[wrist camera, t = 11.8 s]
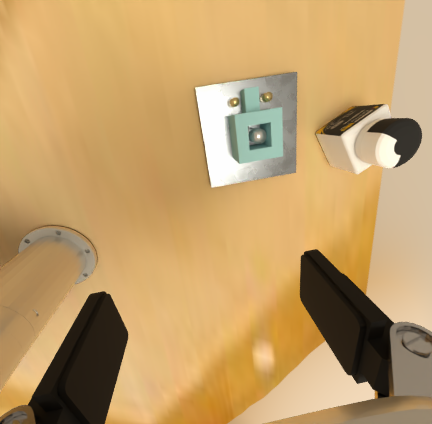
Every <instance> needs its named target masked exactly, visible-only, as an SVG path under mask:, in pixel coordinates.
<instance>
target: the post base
mask: <svg viewBox="0 0 432 424" xmlns="http://www.w3.org/2000/svg"><path fill="white" fill-rule="evenodd" d="M258 86H259V101H260V110H266V109H272V108H279V107H282V124H283V156H282V157H276V158H271V159H265V160H259V161H254V162H248V163H242V164H239V163H238V162H237V161H235V160H234V159H233V155H232V147H231V138H230V129H229V121H228V116H229V115H235V114H241V113H242V106H241V95H240V91H241V90H243V89H245V88H251V87H258ZM195 92H196V98H197V104H198V110H199V117H200V123H201V129H202V135H203V141H204V147H205V153H206V159H207V165H208V172H209V178H210V184H211V187H218V186H223V185H229V184H235V183H240V182H246V181H251V180H257V179H263V178H268V177H274V176H280V175H285V174H291V173H296V125H297V72H293V73H286V74H280V75H273V76H267V77H260V78H254V79H247V80H241V81H234V82H228V83H221V84H215V85H208V86H202V87H195ZM248 137H249V145H253V144H261V143H263V142H264V141H265V140H266V137H267V135H266V132H265V130H263V129H260V124H257V125H252V126H248Z"/></svg>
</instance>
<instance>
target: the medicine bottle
mask: <svg viewBox="0 0 432 424" xmlns="http://www.w3.org/2000/svg"><path fill="white" fill-rule="evenodd" d="M316 136H317V138H318V140H319V143H320V145H321V147H322V149H323V151H324V154H325V156H326V158H327V160H328V162H329V165H330V166H333V167H336V168H339V169H342V170H345V171H349V172H352V173H355V174H359V173H361V172H362V171H364V170H365V169H367V168H368V167H370V166H371V165H376V166H381V167H385V168H395V167H398V166H400V165H402V164H404V163H406V162H407V161H408V160H410V159H411V158H412V157H413V155H414V154H415V153H416V151H417V150H418V148H419V146H420V143H421V139H422V131H421V128H420V126H419V124H418V123H417V122H416V121H415V120H413V119H409V118H391V114H390V110H389V107H388V105H387V104H380V105H368V106H355V107H351V108H349V109H348V110H346V111H345V112H344V113H342V114H341V115H339V116H338V117H337V118H335V119H334V120H332V121H331V122H330V123H328V124H327V125H325V126H324V127H323V128H321V129H320V130H318V131H317V132H316Z"/></svg>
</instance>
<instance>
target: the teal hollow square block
mask: <svg viewBox="0 0 432 424" xmlns="http://www.w3.org/2000/svg"><path fill="white" fill-rule="evenodd" d="M240 95H241V106H242V113H241V114H235V115H229V116H228V121H229V129H230V138H231V147H232V155H233V159H234V160H235V161H237V162H238V163H239V164H242V163H248V162H254V161H259V160H265V159H271V158H276V157H282V156H283V124H282V107H279V108H272V109H266V110H260V101H259V86H258V87H251V88H245V89H243V90H241V91H240ZM257 124H260V129H263V130H265V132H266V135H267V137H266V140H265V141H264V142H263V143H261V144H253V145H249V137H248V126H252V125H257Z"/></svg>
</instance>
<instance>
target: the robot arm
mask: <svg viewBox="0 0 432 424" xmlns="http://www.w3.org/2000/svg"><path fill="white" fill-rule="evenodd" d="M96 265H97V254H96V251H95V249H94V247H93V246H92V244H91V243H90V242H89V241H88V240H87V238H85V237H84V236H83V235H81V234H80V233H78V232H76V231H74V230H71V229H69V228H65V227H61V226H44V227H41V228H37V229H35V230H33V231H31V232H30V233H29V234H27V235H26V236H25V237H24V238H23V239H22V241H21V242H20V244H19V249H18V255H16V256H15V257H14V258H13V259H11V260H10V261H9V262H8V263H6V264H5V265H4V266H2V267H1V268H0V392H1V391H2V389H3V387H4V386H5V384H6V383H7V381H8V379H9V378H10V376H11V375H12V373H13V372H14V370H15V369H16V367H17V366H18V364H19V363H20V361H21V360H22V358H23V357H24V355H25V354H26V353H27V351H28V350H29V348H30V347H31V345H32V344H33V343H34V341H35V340H36V338H37V337H38V335H39V334H40V333H41V331H42V330H43V328H44V327H45V325H46V324H47V322H48V321H49V320H50V318H51V317H52V315H53V314H54V312H55V311H56V310H57V308H58V307H59V305H60V304H61V302H62V301H63V300H64V298H65V297H66V295H67V294H68V292H69V291H70V289H71V288H72V287H73V285H74V284H78V283H80V282H83V281H84V280H86V279H87V278H89V276H90V275H91V274H92V273H93V271H94V270H95V267H96ZM300 298H301V301H302V303H303V305H304V306H305V308H306V310H307V311H308V313H309V314H310V316H311V318H312V319H313V321H314V322H315V324H316V326H317V327H318V329H319V330H320V332H321V334H322V335H323V337H324V338H325V340H326V342H327V343H328V345H329V347H330V348H331V350H332V351H333V353H334V354H335V356H336V358H337V359H338V361H339V363H340V364H341V366H342V367H343V369H344V371H345V372H346V373H347V374H348V375H352V377H353V378H354V380H355V381H356V383H357V384H358V383H363V382H367V381H368V383H369V384H370V386H371V387H372V389H373V390H375V399H372V400H367V401H362V402H358V403H353V404H348V405H343V406H338V407H334V408H329V409H324V410H321V411H316V412H312V413H307V414H303V415H299V416H294V417H290V418H286V419H282V420H277V421H273V422H269V423H264V424H432V332H431V331H429V330H427V329H425V328H424V327H422V326H419V325H416V324H414V323H409V322H398V323H394V322H392V321H391V320H390V319H389V318H388V317H387V316H386V315H385V314H384V313H383V312H382V311H381V310H380V309H379V308H378V307H377V306H376V305H375V304H374V303H373V302H372V301H371V300H370V299H369V298H368V297H367V296H366V295H365V294H364V293H363V292H362V291H361V290H360V289H359V288H358V287H357V286H356V285H355V284H354V283H353V282H352V281H351V280H350V279H349V278H348V277H347V276H346V275H344V274H342V273H341V272H340V271H339V270H338V269H337V268H336V267H335V266H334V265H333V264H332V263H331V262H330V261H329V260H328V259H327V258H326V257H325V256H324V255H323V254H322V253H321V252H320V251H318V250H317V249H315V250H310V251H305V252H304V255H302V256H301V272H300ZM127 341H128V331H127V329H126V327H125V325H124V323H123V321H122V319H121V316H120V314H119V312H118V310H117V308H116V306H115V304H114V302H113V300H112V298H111V296H110V294H106V292H98V293H93V294H90V295H89V297H88V298H87V300H86V302H85V304H84V306H83V307H82V309H81V311H80V313H79V314H78V316H77V318H76V320H75V321H74V323H73V325H72V327H71V328H70V330H69V332H68V334H67V336H66V337H65V339H64V341H63V343H62V344H61V346H60V348H59V350H58V351H57V353H56V355H55V357H54V359H53V360H52V362H51V364H50V366H49V367H48V369H47V371H46V373H45V374H44V376H43V378H42V380H41V382H40V383H39V385H38V387H37V389H36V390H35V392H34V394H33V396H32V399H31V400H30V402H29V404H28V405H21V406H18V407H16V408H13V409H11V410H10V411H8V412H7V413H5V414H4V415H2V416H1V417H0V424H105V421H106V417H107V413H108V410H109V406H110V402H111V399H112V395H113V392H114V388H115V384H116V381H117V377H118V373H119V370H120V366H121V362H122V359H123V355H124V352H125V348H126V344H127Z"/></svg>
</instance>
